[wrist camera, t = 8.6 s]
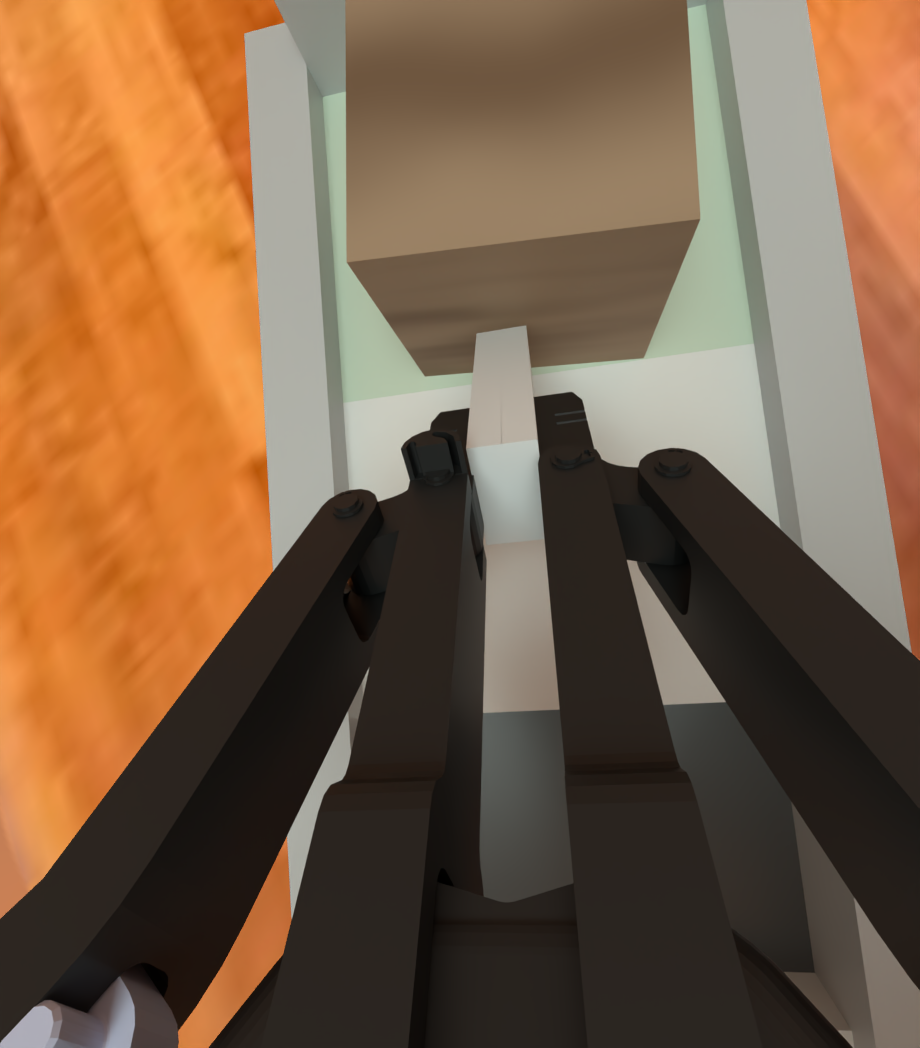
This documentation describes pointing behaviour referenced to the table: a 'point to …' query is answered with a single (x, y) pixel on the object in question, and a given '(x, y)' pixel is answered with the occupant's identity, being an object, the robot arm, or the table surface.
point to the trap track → (614, 460)
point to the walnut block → (519, 172)
